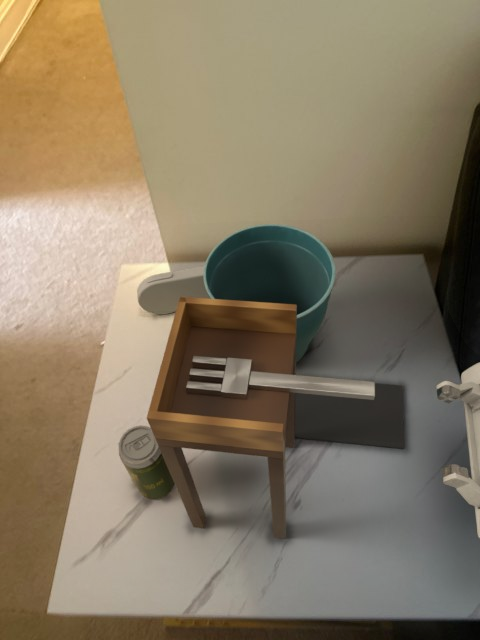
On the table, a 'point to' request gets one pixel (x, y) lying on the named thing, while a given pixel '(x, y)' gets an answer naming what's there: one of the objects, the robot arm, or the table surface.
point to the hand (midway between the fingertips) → (443, 428)
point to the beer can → (145, 462)
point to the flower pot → (275, 273)
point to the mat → (353, 418)
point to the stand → (222, 412)
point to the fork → (266, 381)
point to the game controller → (170, 289)
